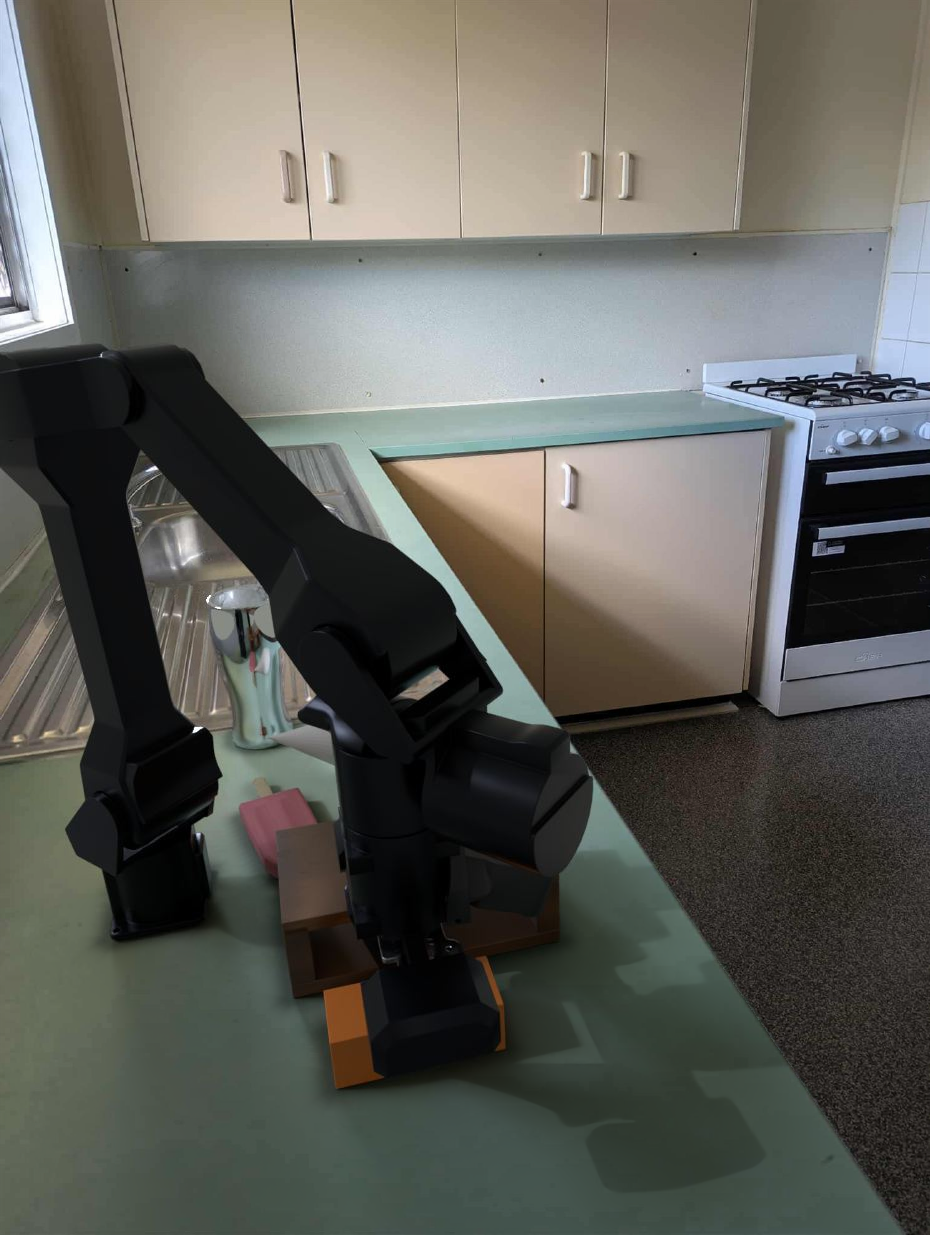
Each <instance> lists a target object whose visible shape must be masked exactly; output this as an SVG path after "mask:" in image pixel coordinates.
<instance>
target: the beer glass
mask: <svg viewBox="0 0 930 1235" xmlns="http://www.w3.org/2000/svg"><path fill="white" fill-rule="evenodd" d="M206 604H207V612H208V613H207V615H208V616H207V617H208V627H209V628H208V629H209V635H210V643H211V647H212V648H211V649H212V652H213V657H214V660H215V663H216V666H217V669H218V672H219V674H220V677H221V680H222V682H223V686H224V688H225V691H226V693H227V697H228V699H229V703H230V707H231V714H232V723H231V724H232V726H231V739H232V742H233V743H234V744H235V745H236V746H237V747H239V748H241V749H245V750H264V749H270V748H273V747H276V746H278V745H281V744H280V743H278V742H276V741H273V740H271V739H268V738H267V737H270V736H274V735H277V734H280V733H284V732H287V731H290V730H293V729H295V728H294V724H293V720H292V718H291V715H290V712H289V709H288V706H287V700H286V670H287V654H286V652H285V651H284V650H283V648H282V647H281V645H280V644H279V642H278V641H277V639H276V638H275V634H274V628H273V622H272V615H271V609H270V602H269V597H268V595H267V593H266V592H265V591H264V589H263V588H262V586H261V585H260V583H257V584H256V583H255V584H253V583H251V584H240V585H234V586H230V587H226V588H222V589H220V590H217V591H215V592H213V593H212V594H210V595H209V596H208V597H207V599H206Z"/></svg>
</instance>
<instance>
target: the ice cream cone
mask: <svg viewBox="0 0 930 1235" xmlns="http://www.w3.org/2000/svg"><path fill="white" fill-rule="evenodd" d="M267 738H268V739H271V740H273V741H276V742H278V743H280V744H279V745H283V746H286V747H288V748H290V749H292V750H295V751H298V752H299V753H303V754H305V755H306V756H307V755H308V756H309V757H311V758H313V759H314V758H315V759H317V760H319V761H322V762H324V763H327V764H329V765H331V766H334V767H335V765H334V757H333V749H332V741H331V734H330V732H328V731H326V730H322V729H319V728H316V727H313V726H310V725H307V724H306V725H304V726H303V725H302V726H300V727H297V728H294V729H293V730H290V731H287V732H284V733H280V734H277V735H274V736H270V737H267Z"/></svg>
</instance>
